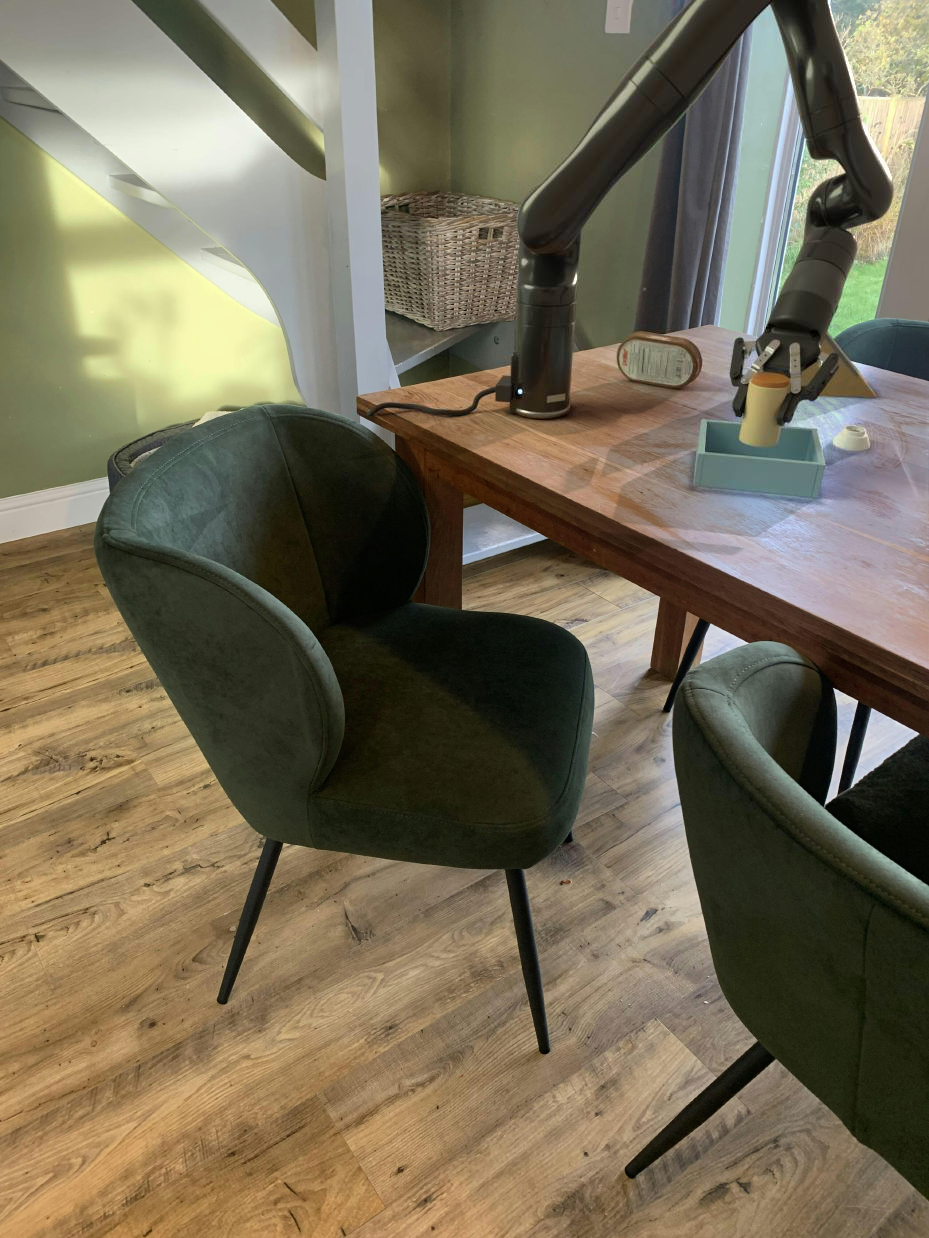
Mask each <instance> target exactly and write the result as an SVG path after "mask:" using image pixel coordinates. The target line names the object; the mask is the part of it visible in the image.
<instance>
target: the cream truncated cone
mask: <svg viewBox="0 0 929 1238" xmlns="http://www.w3.org/2000/svg"><path fill="white" fill-rule="evenodd" d="M832 445H833V446H835V447H837V448H838V449H842V450H846V451H852V452H863V451H867V450H869V449H870V448H871V444H870V439H869V436H868V434H867V429H866V428H865V427H863V426H861V425H855V424H854V425H853V424H848V425H845V426H843V428H842V430H840V431H839V432H838V434H837V435H836V436H835V438H834V439H833V440H832Z"/></svg>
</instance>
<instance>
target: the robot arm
mask: <svg viewBox="0 0 929 1238" xmlns="http://www.w3.org/2000/svg"><path fill="white" fill-rule="evenodd" d="M769 6H770V8H771V11H772V13H773V16H774V19H775V22H776V25H777V27H778V28H777V29H778V31H779V35H780V36H781V40H782V44H783V47H784V48H783V49H784V51H785V56H786V60H787V64H788V65H787V66H788V69H789V74H790V78H791V83H792V88H793V93H794V97H795V102H796V107H797V111H798V115H799V119H800V124H801V127H802V132H803V135H804V139H805V144H806V147H807V151H808V154H809V156H810V158H811V159H812V160H813V161H817V162H818V161H830V160H831V161H836V162H837V163H838V164H839V165H840V166H841V168H842V170H843V171H844V172H843V173H840V174H838V175H835V176H833V177H832V176H831V177H829V178H827V179H825V180H824V181H822V182H820V183H819V184H818V186H816V188H815V189H814V191H813V192H812V193H811V195H810V196H809V199H808V201H807V205H806V212H805V213H806V214H805V222H804V229H803V240H802V246H801V247H800V250H799V252H798V255H797V257H796V258H795V261H794V263H793V267H792V269H791V270H790V273H789V274H788V276H787V278H786V279H785V281H784V282H783V285H782V287H781V290H780V292H779V295H778V297H777V300H776V302H775V303H774V307H773V309H772V311H771V313H770V315H769V318H768V319H767V320H768V321H767V323H766V326H765V328H764V330H763V333H761V334H760V336H758V338H756V340H745V339H744V338H743V337H741V336H740V337H737V338H735V339H734V342H733V349H732V355H731V361H730V367H729V378H730V382H731V385H732V387H736V388H737V391H736V393H735V395H734V397H733V400H732V403H731V405H732V406H731V407H732V410H733V413H734V417H735V418H740V419H742V418H743V414H744V408H745V403H746V397H747V392H748V386H749V381H750V380H751V379H752V375H753V374H755V373H760V372H771V373H778V374H782V375H785V376H787V377H788V378H790V379H791V391H790V393H787V395H786V397H785V400H784V402H783V405H782V407H781V409H780V412H779V414H778V417H777V424H778V426H783V427H784V426H786V424H789V423H791V421H792V420H793V417H794V415H795V413H796V410H797V409H798V406H799V403H801V402H802V401H806V400H807V401H808V402H809V401H810V402H815V401H816V400H818V398H819V397H820V396H821V395H820V394H821V392H822V391H823V389H824V388H825V387H826V385H827V384H828V382H829V381H830V380H831V378H832V377H833V376H834V374H835V373H836V371H837V370H838V369H839V355H838V354H837V353H831V354H830V355H829V354H827V353H824V352H822V351H821V345H822V343H823V340H824V338H825V335H826V333H827V331H828V330H829V328H830V325H831V323H832V321H833V318H834V316H835V314H836V313H837V311H838V308H839V304H840V302H841V298H842V295H843V291H844V287H845V285H846V282H847V279H848V276H849V274H850V271H851V269H852V266H853V264H854V262H855V260H856V256H857V254H858V241H857V238H856V237H855V235H854V234H853V233H852V232H851V231H849V229H853V228H856V227H858V226H859V227H860V226H863V225H866V224H869V223H873V222H875V221H878V220H879V219H881V218H883V217H884V216H885V215H886V214H887V213H888V211H890V208H891V205H892V203H893V200H894V193H895V192H894V190H895V188H894V186H895V185H894V179H893V176H892V174H891V171H890V170H889V167H888V165H887V163H886V162H885V160H884V159H883V157H882V155H881V153H880V152H879V150H878V148H877V146H876V144H875V143H874V140H873V139H872V136H871V135H870V133H869V132H868V130H867V128H866V125H865V122H864V118H863V115H862V114H863V113H862V108H861V103H860V99H859V94H858V92H857V87H856V81H855V79H854V76H853V71H852V69H851V66H850V62H849V60H848V57H847V55H846V51H845V49H844V46H843V44H842V41H841V39H840V35H839V33H838V30H837V27H836V24H835V22H834V21H835V20H834V16H833V12H832V9H831V4H830V0H689V2H687V3H686V5H685V6H684V7H683V8H682V9H681V10H680V11H678V13H677V14H676V15H675V16H674V17H673V18H672V19H671V21H670V22H669V23H668V24H667V25H666V26H665V27H664V28H663V29H662V30H661V31H660V33H659V34H658V35H657V36H656V37H655V38H654V39H653V41H652V42H651V43H650V44H648V46H647V47H646V48H645V49H644V51H643V52H642V53H641V55H639V56H638V58H637V59H636V60H635V62H634V63H633V64H632V65H631V66H630V67H629V69H628V70H627V71H626V72H625V74H623V76H622V78H621V79H620V80H619V82H617V84H616V86H615V87H614V88H613V90H612V91H611V93H610V94H609V95H608V97H607V99H605V101H604V103H603V104H602V105H601V108H600V109H599V110H598V112H597V113H596V115H595V116H594V118H593V120H592V122H591V123H590V125H589V127H588V128H587V130H586V131H585V133H584V134H583V136H582V138H580V140H579V141H578V143H577V144H576V146H575V147H574V148H573V149H572V151H571V152H570V153H569V154H568V155H567V156H566V157H565V159H564V160H563V161H562V162H560V164H558V166H557V167H556V168H555V169H554V170H553V171H552V172H551V173H550V174H549V175H548V176H547V177H546V178H545V179H544V180H543V181H542V182H541V183H539V184H537V185H535V186H534V187H533V188H531V190H530V191H528V193H527V194H526V196H525V197H524V198H523V199H522V200H521V203H520V205H519V207H518V210H517V214H516V221H515V222H516V226H515V227H516V233H517V236H518V238H519V244H518V245H519V246H518V247H519V248H518V265H517V277H516V281H515V282H516V283H515V314H514V315H515V317H514V320H515V321H514V344H513V345H514V346H513V347H514V348H513V349H514V350H513V351H512V352H511V355H510V374H509V375H506V374H505V375H502V376H501V377H500V379H499V380H498V382H497V383H496V384H495V386H492V387H489V388H485V389H484V390H482V391H480V392H478V393H477V394H476V395H475V396H474V398H473V401H472V404H471V405H470V406H468V407H466V408H464V409H444V408H434V407H429V406H425V405H421V404H416V403H403V402H393V401H387V402H382V403H379V404H377V405H375V406H374V407H372V408H371V409H370V410H369V411H368V412H367V413H366V417H373V416H374V415H375V414H376V413H378V412H380V411H382V410H384V409H398V410H413V411H419V412H422V413H427V414H428V415H429V414H430V415H435V416H452V417H459V416H465V415H468V414H470V413H473V412H475V410H476V409H477V408H478V406H479V403H480V400H481V399H482V398H484V397H485V396H488V395H492V394H494V396H495V397H494V398H495V399H494V401H495V402H497V403H498V402H500V403H509V408H508V409H509V410H508V411H509V414H515V415H518V416H521V417H525V418H529V419H539V420H540V419H541V420H542V419H543V420H546V419H556V418H560V417H563V416H566V415H568V413H569V412H570V411H571V388H572V386H571V385H572V374H573V373H572V372H573V357H574V344H575V343H574V341H575V330H576V329H575V327H576V312H577V296H578V286H579V277H580V260H581V247H582V245H581V244H582V234H583V233H582V231H583V228H584V227H585V226H586V224H587V223H588V221H589V219H590V218H591V217H592V215H593V214H594V213H595V211H596V210H597V209H598V207H599V206H600V204H601V203H602V202H603V200H605V198H606V197H607V195H608V194H609V193H610V191H611V190H612V189H613V188H614V187H615V186H616V185H617V183H618V182H620V181H621V179H623V177H624V176H625V175H626V174H627V173H629V172H630V171H631V170H632V169H633V168H635V166H637V165H638V164H639V163H640V162H641V161H642V160H643V159H644V158H645V157H646V156H647V155H648V154H649V153H651V151H652V150H653V149H654V148H655V147H656V146H657V145H658V144H659V143H660V141H662V139H663V138H664V137H665V136H666V135H667V134H668V133H669V132H670V131H671V130H672V129H673V128H674V127H675V125H676V124H677V123H678V122H679V121H680V120H681V119H682V117H683V116H684V115H685V114H686V113H687V112H688V111H689V110H690V108H691V106H693V105H694V104H695V102H697V100H698V99H699V98H700V96H701V95H702V94H703V92H705V90H706V89H707V88H708V86H709V85H710V83H711V82H712V80H713V79H714V78H715V77H716V75H717V73H719V71H720V69H722V66H723V65H724V63H725V62H726V60H727V59H728V57H729V56H730V54H731V53H732V51H733V50H734V48H735V46H736V45H737V44H738V42H739V41H740V40H741V38H742V37H743V35H744V33H745V32H746V31H747V30H748V28H750V26H752V24H753V23H754V22H755V20H756V19H758V17H759V16H760V15H761V14H762V13H763V12H764V11H765V10H766V9H767V8H768V7H769ZM828 332H829V331H828ZM753 352H756V355H757V358H756V359H755V360H754V361H753V362H752V364H751V366H750V368H749V369H748V370H747V372H745V374H743V372H744V366H745V360H748V359H749V357H750V356H751V354H752V353H753ZM817 361H819V364H818V365H819V370H818V371H817V373H816V374H815V376H814V377H813V378H812V380H811V381H810V383H809V384H808V385H807V386H802V372H803V371H804V370H806V369H807V368H809V367H810V366H812V365H813V364H815V363H816V362H817Z"/></svg>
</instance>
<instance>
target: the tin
mask: <svg viewBox="0 0 929 1238" xmlns="http://www.w3.org/2000/svg"><path fill="white" fill-rule="evenodd" d="M616 364H617V367H618V369H619V371H620V373H621V374H622V375H623V376H624V377H625V378H626V379H627V380H630V381H632V382H634V383H635V382H636V383H641V384H647V385H651V386H656V387H657V386H658V387H663V388H667V389H674V390H676V389H682V388H685V387H687V386H688V385H690V384H692V383H693V382H694V381H695V380H696V379H697V378H698V377H699V375H700V374H701V372H702V368H703V357H702V353H701V351H700V349H699V347H698V346H697V345H696V344H695V343H694V342H693V341H691V340H689V339H688V338H684V337H679V336H673V335H667V334H661V333H654V332H648V331H641V330H640V331H635V332H633V333H631V334H629V335H628V336H627V337H626V338H625V339H623V341H622V342H621V343H620V344H619V346H618V347H617V351H616Z"/></svg>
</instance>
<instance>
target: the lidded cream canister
mask: <svg viewBox="0 0 929 1238" xmlns="http://www.w3.org/2000/svg"><path fill="white" fill-rule="evenodd" d="M789 387H790V384H789V378H788V377H787V376H785V375H782V374H778V373H771V372H760V373H755V374H753V375H752V379H751V380H750V381H749V386H748V392H747V397H746V403H745V408H744V413H743V416H742V418H741V422H742V424H741V430H740V435H739V440H740V441H741V442H743V443H745V444H747V445H751V446H756V447H771V446H775V445H776V444H777V443H778V439H779V434H780V430H781V426H778V424H777V417H778V414H779V412H780V409H781V407H782V405H783V402H784V400H785V397H786V395H787V393H788V391H789Z"/></svg>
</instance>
